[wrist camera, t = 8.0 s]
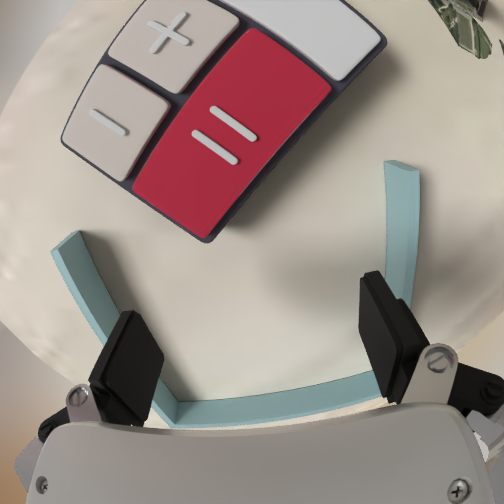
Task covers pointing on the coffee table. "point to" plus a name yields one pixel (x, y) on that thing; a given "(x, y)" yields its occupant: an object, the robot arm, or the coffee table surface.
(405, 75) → the coffee table surface
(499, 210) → the coffee table surface
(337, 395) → the teal u-shaped piece
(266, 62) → the calculator
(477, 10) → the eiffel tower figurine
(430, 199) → the coffee table surface
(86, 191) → the coffee table surface
